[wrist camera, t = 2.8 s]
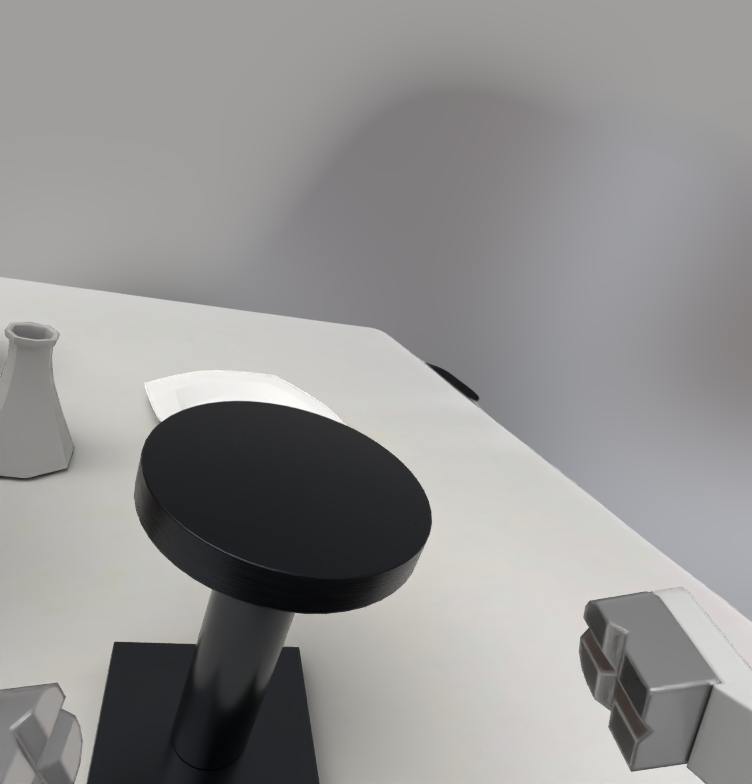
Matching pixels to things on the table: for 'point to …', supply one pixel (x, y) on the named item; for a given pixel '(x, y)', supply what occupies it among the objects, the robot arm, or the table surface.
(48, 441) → the flask
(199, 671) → the display stand
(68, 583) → the table surface
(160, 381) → the plate
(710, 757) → the robot arm
